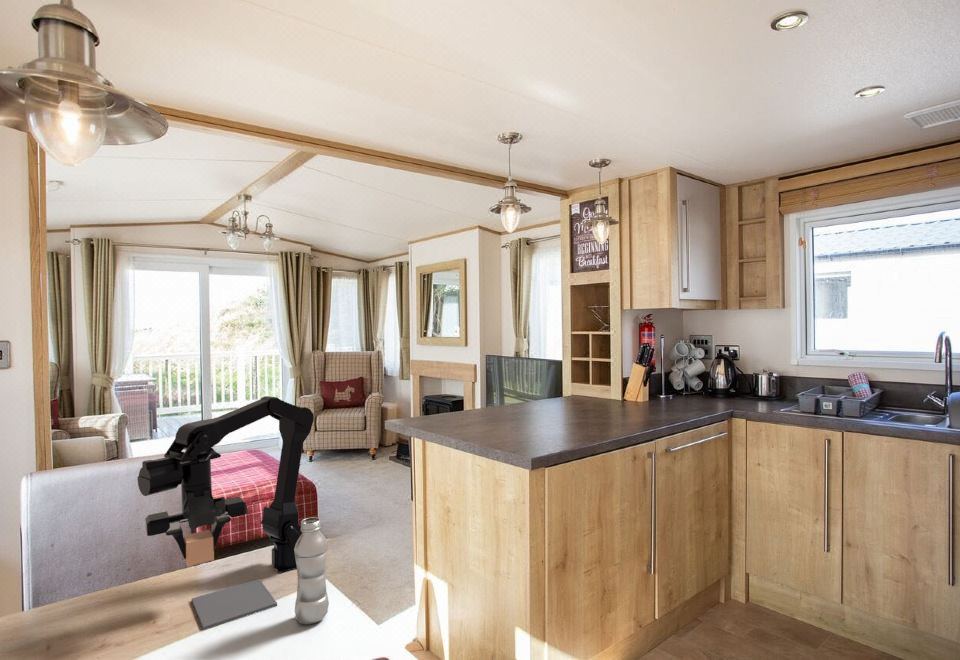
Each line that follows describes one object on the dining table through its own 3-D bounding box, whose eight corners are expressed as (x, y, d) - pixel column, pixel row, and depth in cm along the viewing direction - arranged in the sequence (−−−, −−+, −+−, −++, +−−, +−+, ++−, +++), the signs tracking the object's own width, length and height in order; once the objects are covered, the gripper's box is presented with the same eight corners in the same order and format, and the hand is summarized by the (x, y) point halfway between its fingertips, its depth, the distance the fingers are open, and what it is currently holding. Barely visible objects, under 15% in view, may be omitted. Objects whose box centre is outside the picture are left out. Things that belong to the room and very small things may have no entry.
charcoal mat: (259, 581, 121) (259, 578, 121) (277, 605, 110) (277, 603, 110) (191, 601, 113) (191, 598, 113) (203, 630, 102) (203, 626, 102)
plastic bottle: (287, 624, 103) (285, 523, 103) (313, 607, 109) (311, 512, 109) (311, 632, 100) (309, 529, 100) (336, 614, 106) (334, 517, 106)
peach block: (210, 552, 115) (209, 529, 115) (213, 559, 111) (213, 536, 111) (184, 558, 112) (183, 535, 112) (187, 567, 108) (186, 543, 108)
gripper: (147, 502, 99) (150, 582, 100) (251, 482, 110) (253, 554, 111) (143, 488, 108) (146, 562, 109) (240, 471, 119) (242, 538, 120)
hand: (199, 554), depth 112 cm, fingers closed on peach block, 5 cm apart
